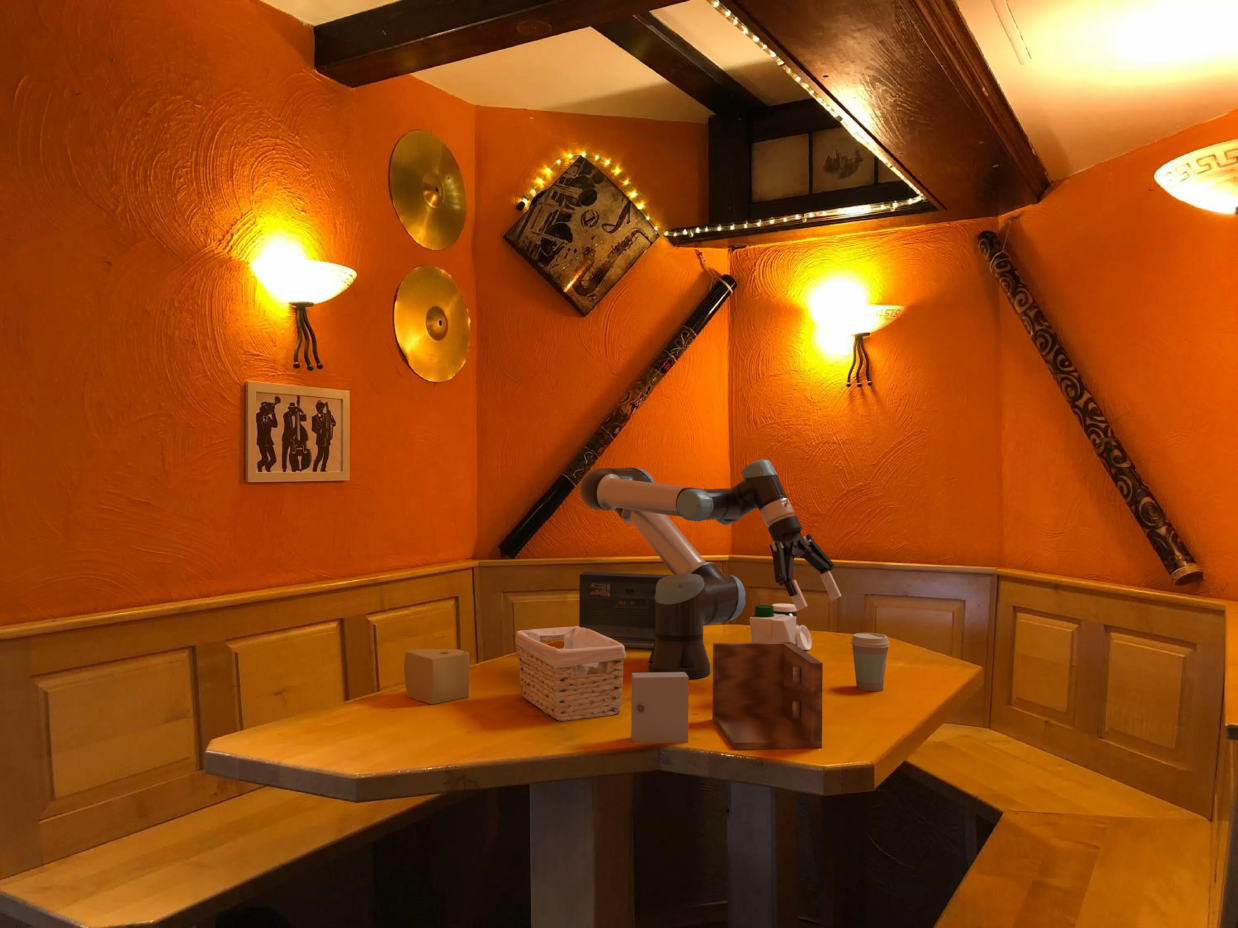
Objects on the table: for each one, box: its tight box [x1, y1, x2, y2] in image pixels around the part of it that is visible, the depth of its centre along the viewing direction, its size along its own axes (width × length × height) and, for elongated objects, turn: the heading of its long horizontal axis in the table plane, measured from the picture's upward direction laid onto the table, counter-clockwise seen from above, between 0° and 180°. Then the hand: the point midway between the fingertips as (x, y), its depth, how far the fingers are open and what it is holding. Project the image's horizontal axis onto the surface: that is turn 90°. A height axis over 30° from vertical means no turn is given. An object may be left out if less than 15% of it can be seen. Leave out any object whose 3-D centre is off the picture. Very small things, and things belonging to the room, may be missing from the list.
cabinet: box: [711, 642, 824, 751], centre depth 180 cm, size 16×20×15 cm
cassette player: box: [578, 571, 671, 651], centre depth 264 cm, size 29×7×20 cm, turn 76°
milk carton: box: [749, 604, 796, 644], centre depth 206 cm, size 9×9×20 cm
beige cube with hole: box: [403, 648, 471, 706], centre depth 205 cm, size 10×11×10 cm
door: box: [630, 672, 690, 745], centre depth 175 cm, size 10×5×12 cm, turn 96°
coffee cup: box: [850, 632, 890, 692], centre depth 217 cm, size 9×8×12 cm
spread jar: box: [771, 603, 813, 651], centre depth 264 cm, size 12×11×12 cm
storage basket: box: [515, 625, 627, 722], centre depth 199 cm, size 24×16×15 cm
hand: (819, 603), depth 220 cm, fingers open, 13 cm apart
